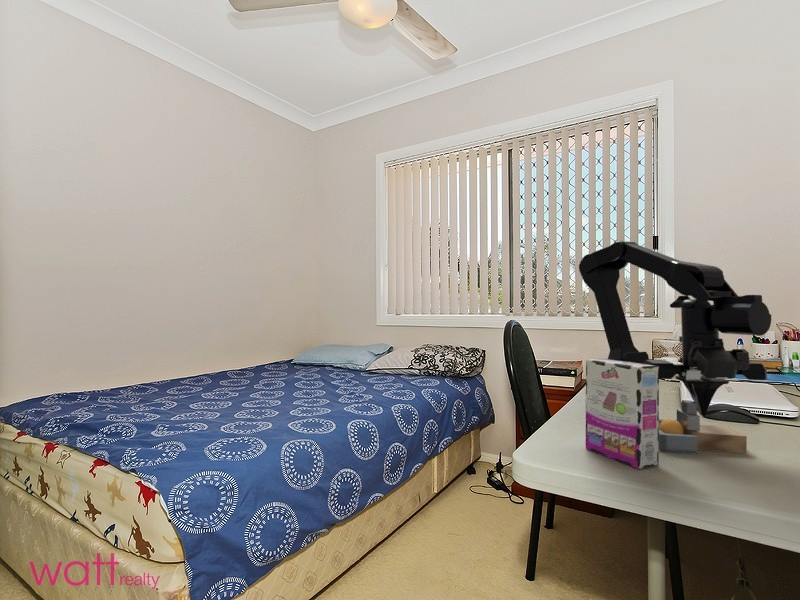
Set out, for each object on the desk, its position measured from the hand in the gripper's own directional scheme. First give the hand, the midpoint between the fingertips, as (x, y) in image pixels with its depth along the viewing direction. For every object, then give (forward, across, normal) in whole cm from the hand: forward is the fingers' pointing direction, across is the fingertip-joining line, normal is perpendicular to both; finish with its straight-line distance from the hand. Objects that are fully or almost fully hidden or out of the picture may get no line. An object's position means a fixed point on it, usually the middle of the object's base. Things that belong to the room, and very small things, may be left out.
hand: (702, 415), depth 81 cm
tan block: (+6, +1, 0) cm, 6 cm away
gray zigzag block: (+2, -2, 0) cm, 3 cm away
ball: (+3, -5, 0) cm, 6 cm away
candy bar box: (+5, -17, -10) cm, 20 cm away
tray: (+5, -6, 0) cm, 8 cm away
